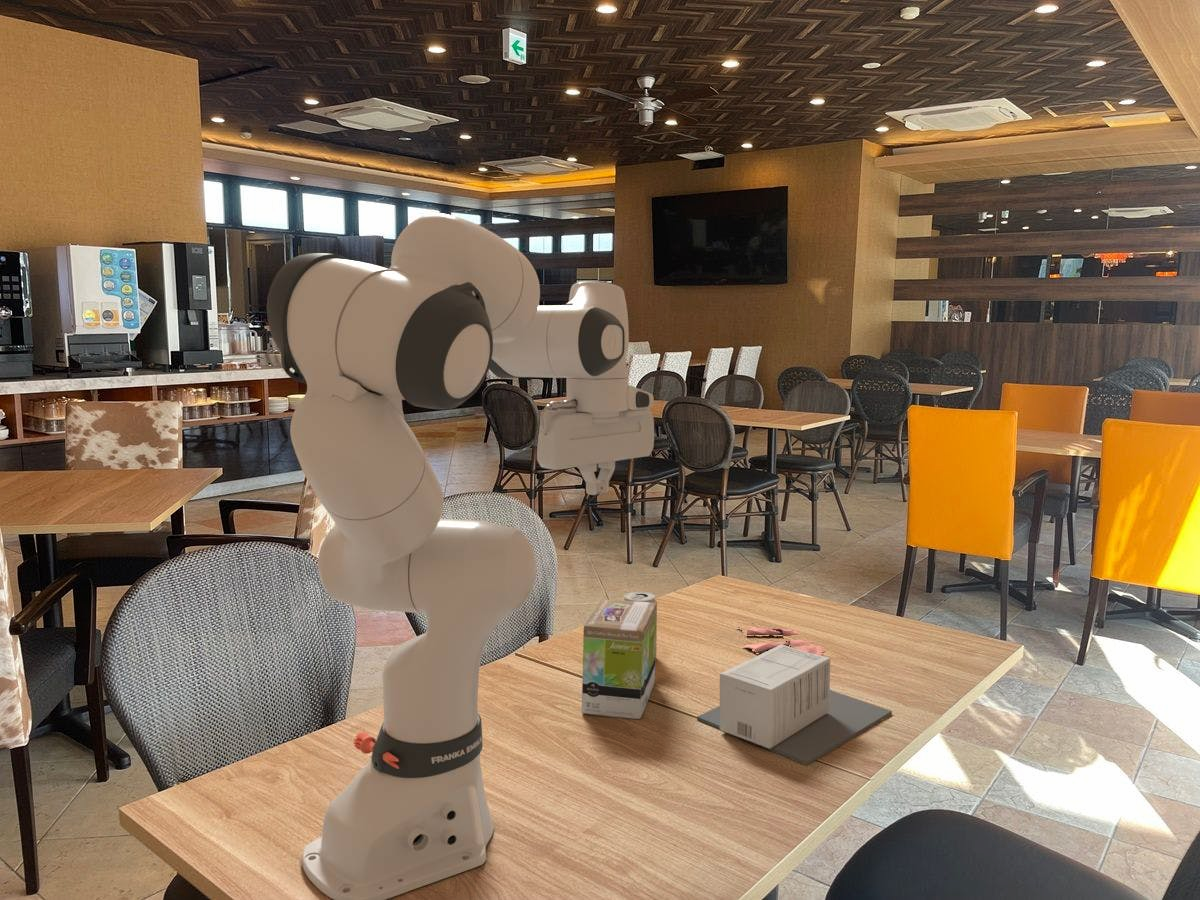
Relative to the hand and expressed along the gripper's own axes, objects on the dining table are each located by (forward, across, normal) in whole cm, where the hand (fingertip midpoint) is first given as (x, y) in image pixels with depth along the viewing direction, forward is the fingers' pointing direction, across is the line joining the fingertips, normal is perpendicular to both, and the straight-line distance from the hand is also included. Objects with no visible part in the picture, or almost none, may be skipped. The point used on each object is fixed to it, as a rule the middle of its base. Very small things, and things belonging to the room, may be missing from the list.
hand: (597, 493), depth 128 cm
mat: (+37, +27, -17) cm, 49 cm away
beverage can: (+37, +27, +17) cm, 49 cm away
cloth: (+38, +52, +6) cm, 65 cm away
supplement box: (+32, +14, -17) cm, 39 cm away
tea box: (+37, +12, +7) cm, 40 cm away
